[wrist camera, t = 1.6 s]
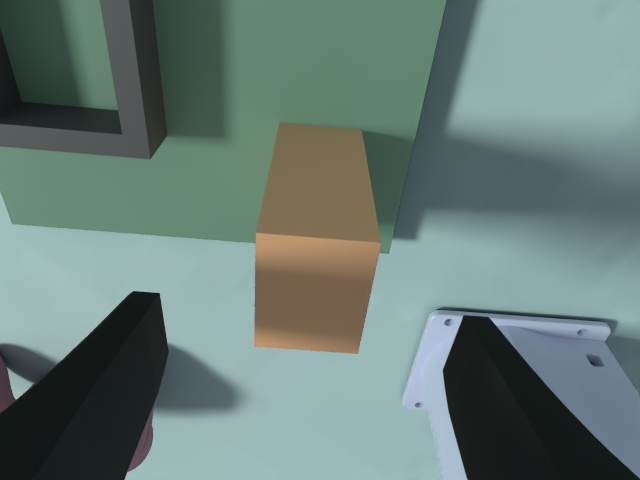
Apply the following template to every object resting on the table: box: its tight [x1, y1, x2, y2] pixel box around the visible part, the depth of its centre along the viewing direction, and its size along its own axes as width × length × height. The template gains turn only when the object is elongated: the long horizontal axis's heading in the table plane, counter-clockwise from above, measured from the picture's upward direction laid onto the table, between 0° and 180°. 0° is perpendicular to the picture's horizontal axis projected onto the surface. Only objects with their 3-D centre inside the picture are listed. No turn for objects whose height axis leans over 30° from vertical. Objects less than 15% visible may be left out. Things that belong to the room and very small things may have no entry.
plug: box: [254, 123, 381, 354], centre depth 15 cm, size 3×4×7 cm
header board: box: [0, 0, 446, 254], centre depth 16 cm, size 16×12×3 cm
